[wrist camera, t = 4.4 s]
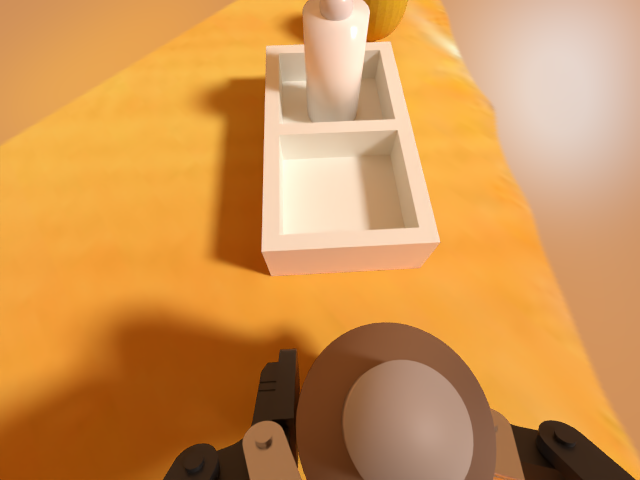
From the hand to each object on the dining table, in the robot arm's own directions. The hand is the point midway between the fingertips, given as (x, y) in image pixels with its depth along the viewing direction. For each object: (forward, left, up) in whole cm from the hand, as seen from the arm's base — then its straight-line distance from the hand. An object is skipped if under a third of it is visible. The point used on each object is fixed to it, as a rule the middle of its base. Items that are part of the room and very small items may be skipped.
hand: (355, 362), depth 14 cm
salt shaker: (-14, +14, -4) cm, 20 cm away
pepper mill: (+1, -1, -5) cm, 6 cm away
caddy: (-11, +11, -5) cm, 16 cm away
